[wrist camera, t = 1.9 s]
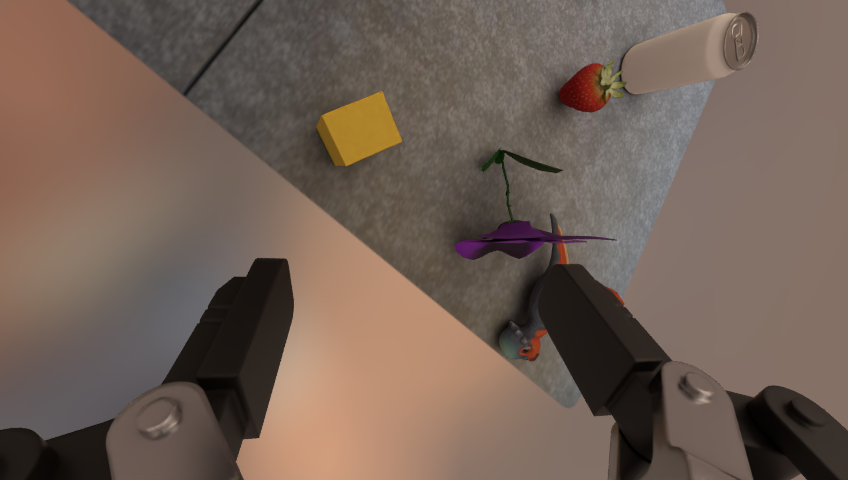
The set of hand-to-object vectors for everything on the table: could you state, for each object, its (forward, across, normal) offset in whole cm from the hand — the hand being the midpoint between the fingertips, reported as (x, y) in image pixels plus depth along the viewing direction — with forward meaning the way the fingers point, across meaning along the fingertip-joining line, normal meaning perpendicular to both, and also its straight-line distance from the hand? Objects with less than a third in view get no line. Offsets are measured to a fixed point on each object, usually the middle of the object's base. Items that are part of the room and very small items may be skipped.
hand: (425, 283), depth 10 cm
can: (+40, -34, -5) cm, 53 cm away
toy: (+23, -30, +20) cm, 43 cm away
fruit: (+36, -23, -1) cm, 42 cm away
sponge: (+28, +4, +4) cm, 28 cm away
